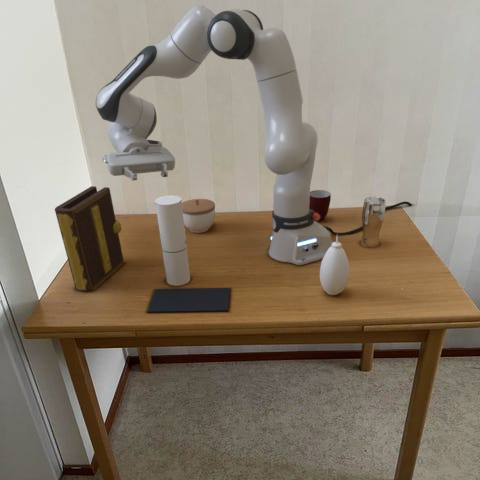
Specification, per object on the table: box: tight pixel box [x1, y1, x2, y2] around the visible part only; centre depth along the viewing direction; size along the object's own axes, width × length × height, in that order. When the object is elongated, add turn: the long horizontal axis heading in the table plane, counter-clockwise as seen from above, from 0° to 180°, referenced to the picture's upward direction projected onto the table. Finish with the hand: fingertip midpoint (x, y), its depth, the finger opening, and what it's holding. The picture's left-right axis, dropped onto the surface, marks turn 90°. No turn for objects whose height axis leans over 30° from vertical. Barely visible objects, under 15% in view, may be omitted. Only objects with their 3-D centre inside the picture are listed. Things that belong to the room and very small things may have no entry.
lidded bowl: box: [182, 198, 216, 234], centre depth 176 cm, size 13×13×11 cm
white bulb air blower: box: [319, 234, 350, 296], centre depth 133 cm, size 8×8×18 cm
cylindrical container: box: [154, 194, 191, 287], centre depth 141 cm, size 7×7×25 cm
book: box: [54, 185, 125, 293], centre depth 146 cm, size 22×8×25 cm, turn 162°
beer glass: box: [360, 196, 386, 248], centre depth 159 cm, size 7×7×15 cm
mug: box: [309, 189, 332, 223], centre depth 178 cm, size 11×8×10 cm
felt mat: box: [146, 287, 231, 314], centre depth 138 cm, size 22×12×1 cm, turn 88°
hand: (150, 176), depth 143 cm, fingers open, 8 cm apart
